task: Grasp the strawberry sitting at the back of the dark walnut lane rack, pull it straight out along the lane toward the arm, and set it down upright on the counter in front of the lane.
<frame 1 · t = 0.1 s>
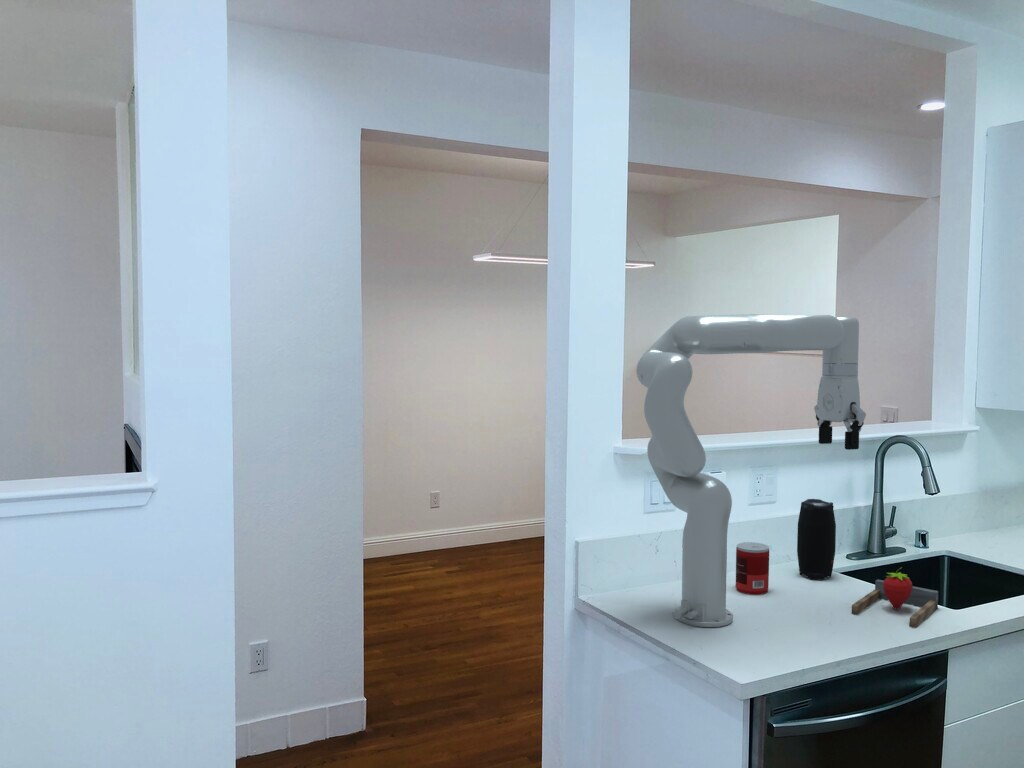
hand: (838, 446, 188), 37 cm above the worktop, tool pointing down, fingers open, 9 cm apart
strawberry: (897, 610, 189), on the worktop
portable speaker: (815, 577, 214), on the worktop
lane rack: (894, 611, 187), on the worktop
canned food: (751, 591, 203), on the worktop
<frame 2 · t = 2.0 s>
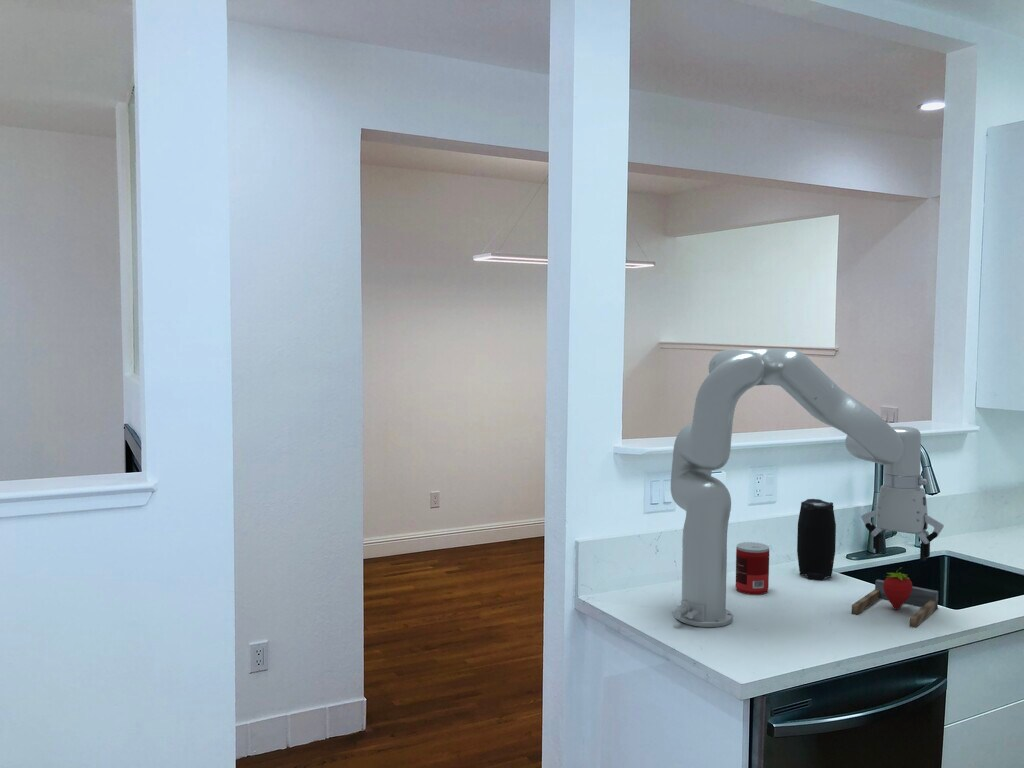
hand: (900, 556, 188), 12 cm above the worktop, tool pointing down, fingers open, 9 cm apart
nothing on the worktop moved.
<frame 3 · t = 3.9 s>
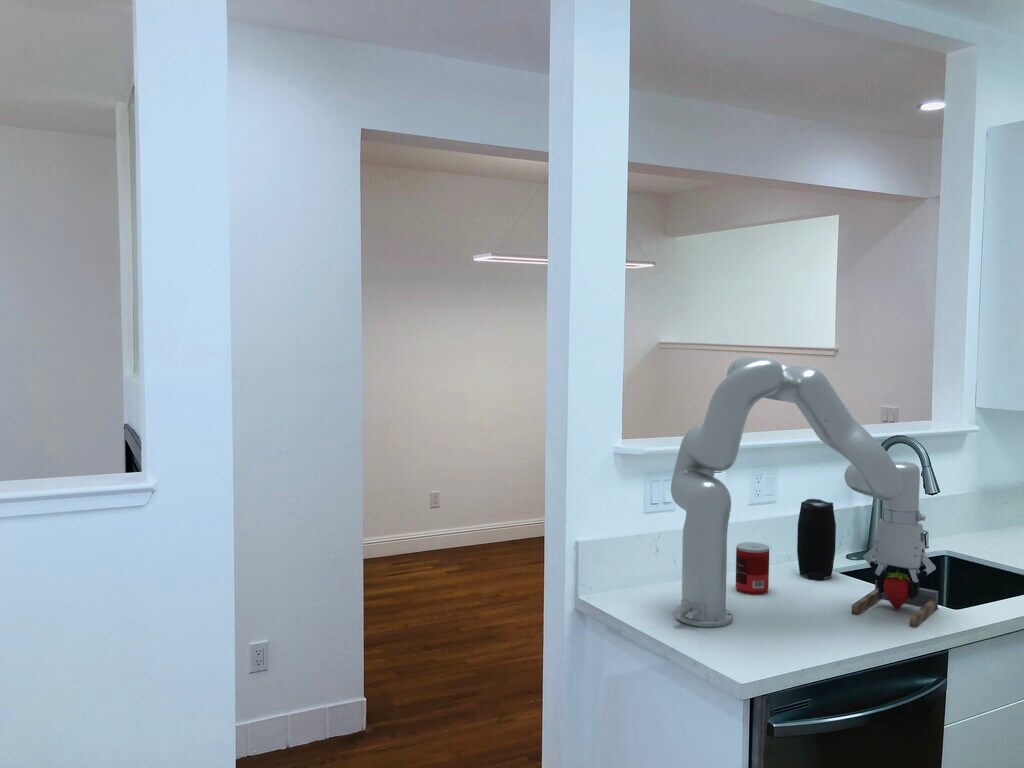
hand: (897, 593, 189), 4 cm above the worktop, tool pointing down, fingers closed on strawberry, 5 cm apart
strawberry: (897, 610, 189), on the worktop, touching gripper
everything else where it was.
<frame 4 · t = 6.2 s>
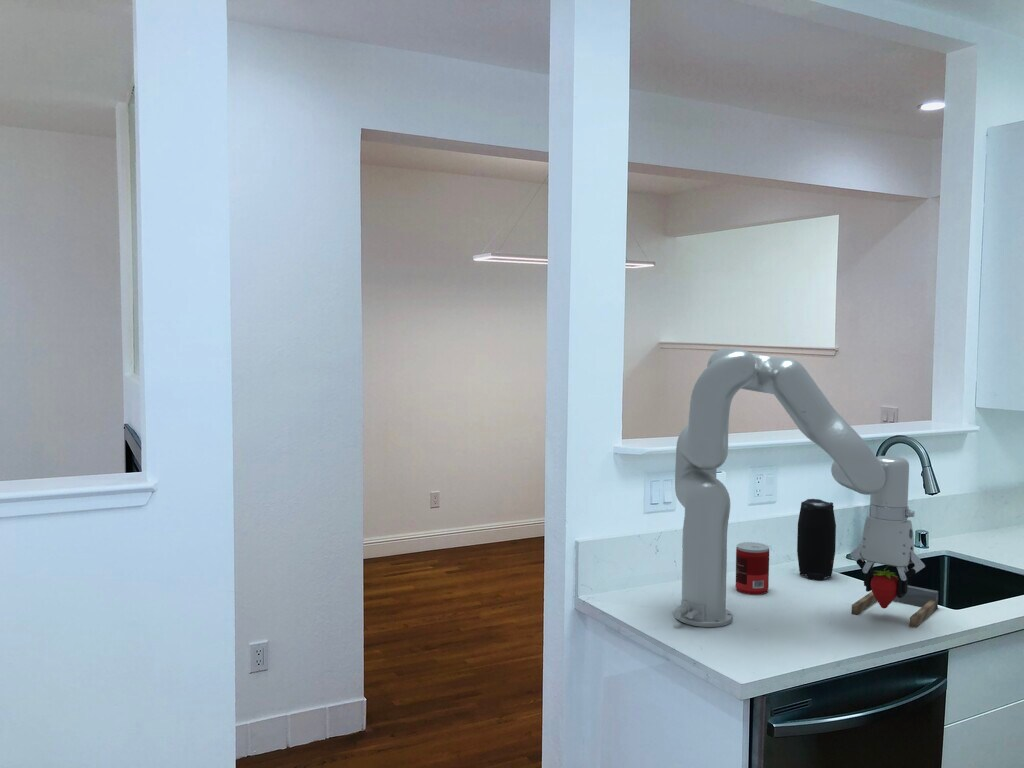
hand: (885, 592, 183), 6 cm above the worktop, tool pointing down, fingers closed on strawberry, 5 cm apart
strawberry: (884, 609, 183), point 2 cm above the worktop, touching gripper
everything else where it was.
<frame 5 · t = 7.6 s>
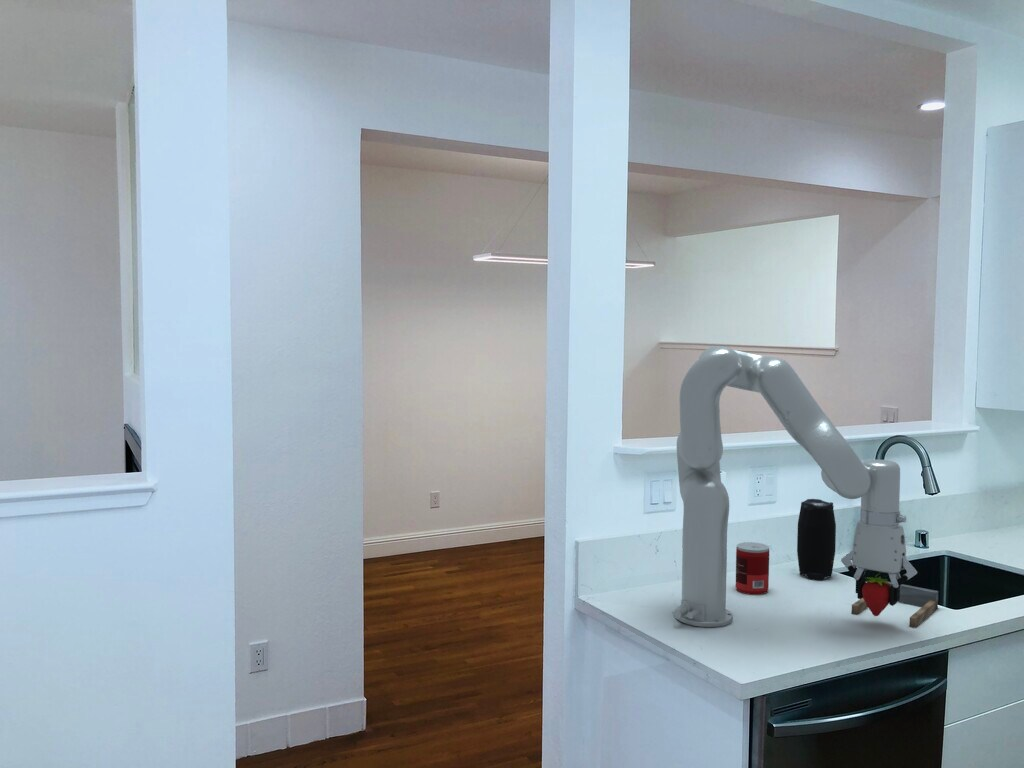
hand: (877, 599, 178), 6 cm above the worktop, tool pointing down, fingers closed on strawberry, 5 cm apart
strawberry: (876, 617, 178), point 2 cm above the worktop, touching gripper
everything else where it was.
when the fingers open (4 cm above the worktop, at t = 8.6 s): strawberry stays where it is, on the worktop.
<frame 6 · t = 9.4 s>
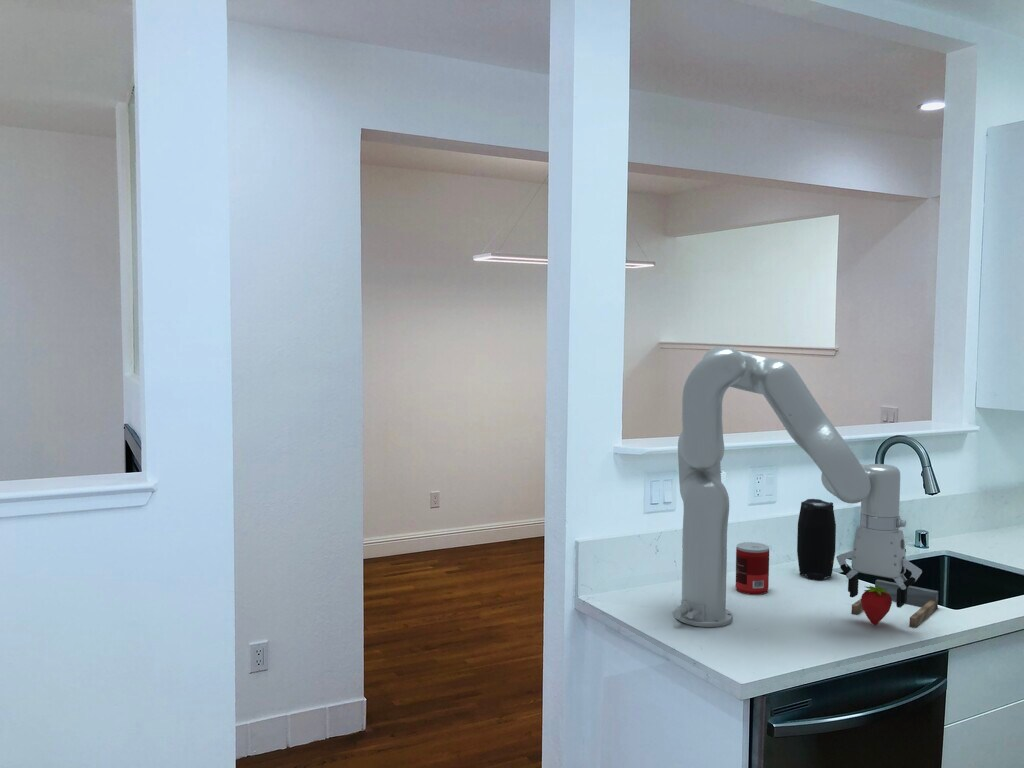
hand: (876, 600, 178), 5 cm above the worktop, tool pointing down, fingers open, 9 cm apart
strawberry: (875, 626, 178), on the worktop
everything else where it was.
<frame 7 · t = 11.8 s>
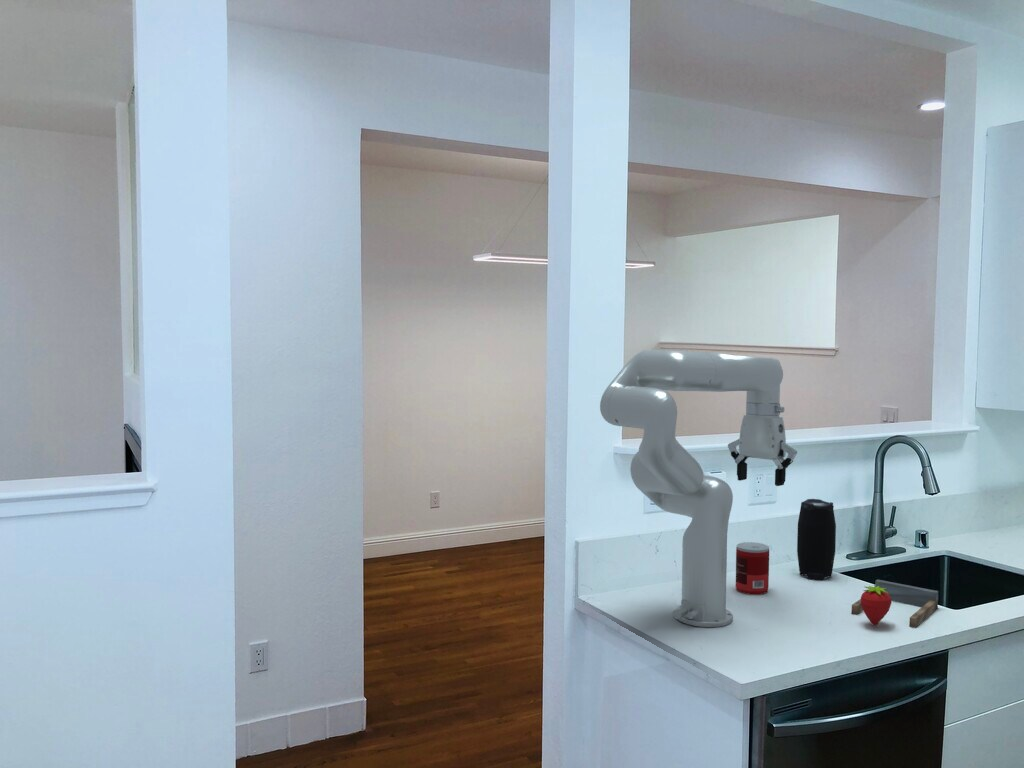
hand: (760, 482, 195), 28 cm above the worktop, tool pointing down, fingers open, 9 cm apart
nothing on the worktop moved.
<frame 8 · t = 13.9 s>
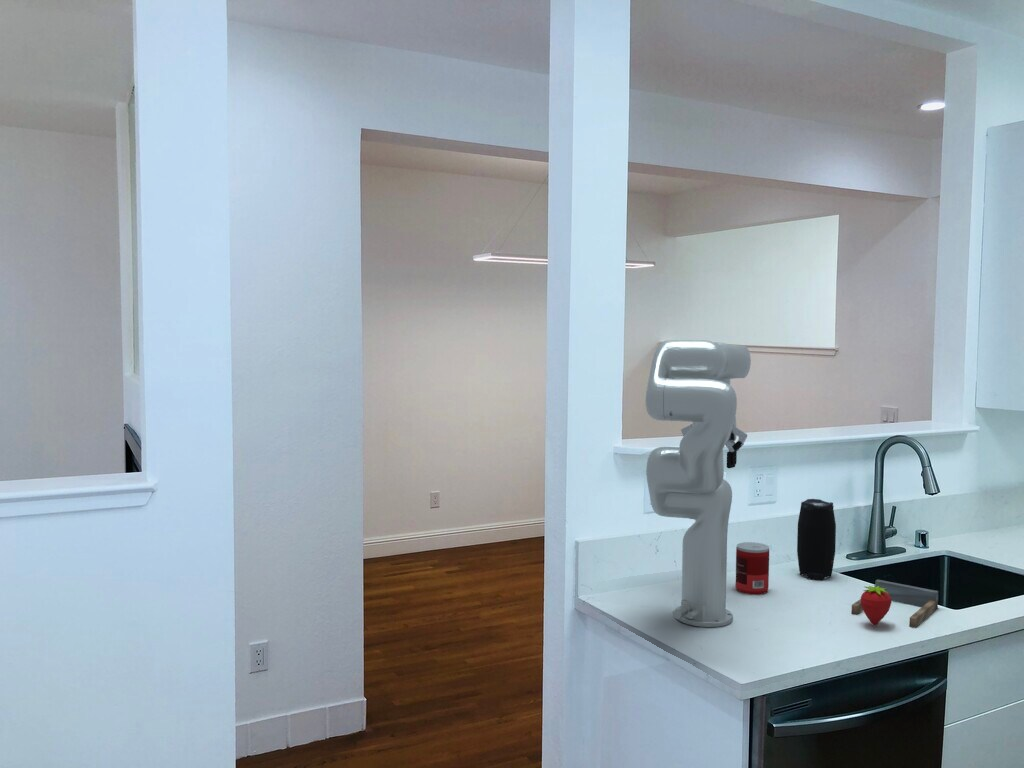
hand: (712, 465, 204), 30 cm above the worktop, tool pointing down, fingers open, 9 cm apart
nothing on the worktop moved.
at the end: strawberry inside the target area (2.9 cm from its centre), on the worktop; strawberry tilted 0°; the gripper is holding nothing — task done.
